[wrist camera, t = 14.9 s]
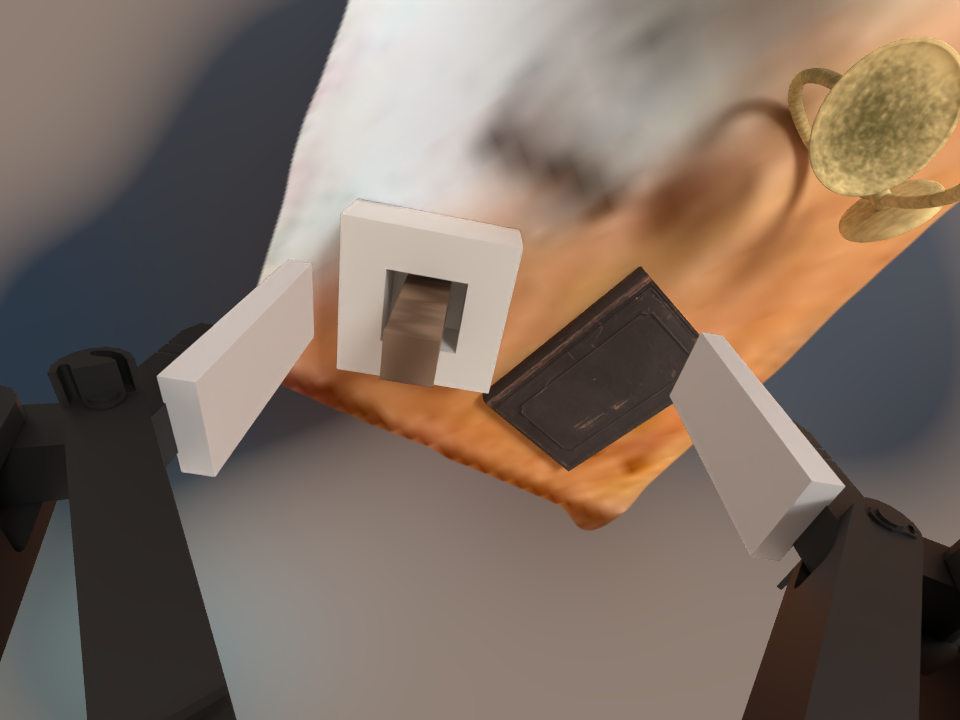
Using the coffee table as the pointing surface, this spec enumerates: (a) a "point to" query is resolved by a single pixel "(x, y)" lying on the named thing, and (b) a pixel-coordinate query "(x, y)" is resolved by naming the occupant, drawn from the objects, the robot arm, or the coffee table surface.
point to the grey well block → (433, 253)
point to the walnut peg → (415, 331)
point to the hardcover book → (598, 373)
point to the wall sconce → (883, 134)
